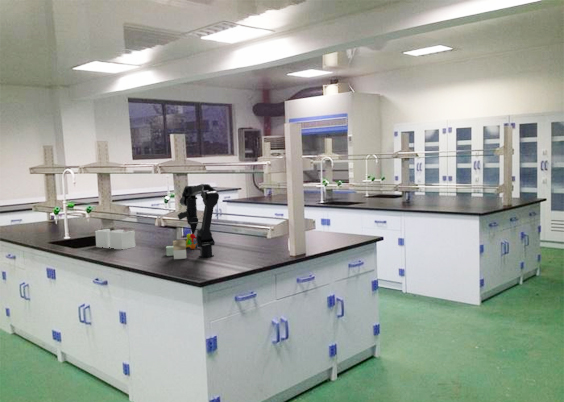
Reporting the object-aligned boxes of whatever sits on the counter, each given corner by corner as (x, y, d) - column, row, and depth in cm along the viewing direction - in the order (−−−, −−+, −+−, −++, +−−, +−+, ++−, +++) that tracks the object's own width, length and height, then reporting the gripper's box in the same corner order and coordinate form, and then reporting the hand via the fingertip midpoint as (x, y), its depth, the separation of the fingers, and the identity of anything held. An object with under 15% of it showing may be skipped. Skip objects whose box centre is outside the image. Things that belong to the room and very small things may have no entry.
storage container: (96, 247, 328) (95, 230, 327) (109, 244, 337) (108, 228, 336) (122, 249, 315) (121, 232, 314) (135, 246, 324) (134, 230, 323)
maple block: (185, 248, 284) (185, 239, 283) (186, 249, 280) (185, 240, 279) (173, 249, 282) (172, 240, 282) (173, 250, 278) (172, 241, 278)
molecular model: (197, 252, 320) (206, 240, 310) (185, 257, 313) (194, 245, 303) (188, 238, 322) (196, 226, 312) (176, 243, 315) (184, 231, 305)
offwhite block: (186, 257, 284) (185, 248, 284) (186, 258, 280) (186, 249, 280) (173, 258, 282) (173, 249, 282) (173, 259, 279) (173, 250, 278)
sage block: (178, 253, 295) (178, 245, 294) (178, 255, 291) (178, 246, 290) (166, 254, 293) (166, 246, 293) (166, 256, 289) (166, 247, 289)
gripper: (177, 206, 301) (178, 231, 303) (178, 209, 283) (179, 236, 285) (196, 205, 304) (197, 230, 305) (197, 207, 286) (199, 234, 287)
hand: (192, 232), depth 295 cm, fingers open, 9 cm apart
